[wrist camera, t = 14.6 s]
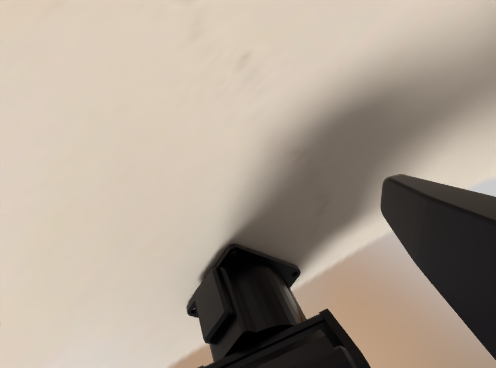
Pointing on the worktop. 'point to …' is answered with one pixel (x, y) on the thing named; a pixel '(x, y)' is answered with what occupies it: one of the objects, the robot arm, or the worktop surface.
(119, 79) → the worktop surface
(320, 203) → the worktop surface
